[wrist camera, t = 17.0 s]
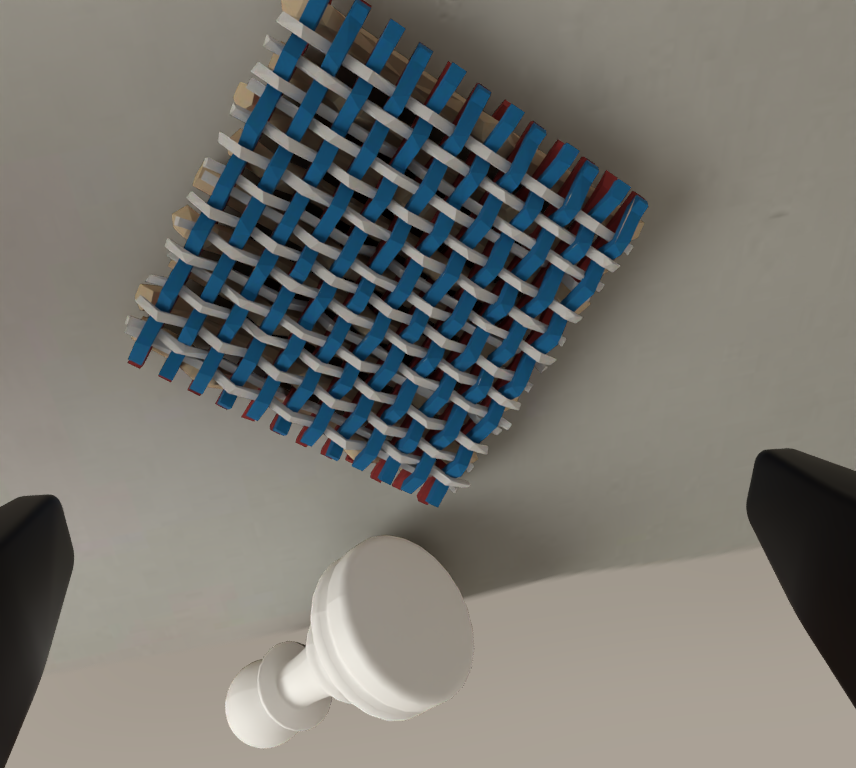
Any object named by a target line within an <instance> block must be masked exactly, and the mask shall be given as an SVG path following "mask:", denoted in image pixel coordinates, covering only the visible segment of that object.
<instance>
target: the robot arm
mask: <svg viewBox="0 0 856 768" xmlns="http://www.w3.org/2000/svg"><path fill="white" fill-rule="evenodd" d="M746 509H747V515H748V519H749V521H750V524H751V526H752V528H753V530H754V532H755V534H756V536H757V538H758V540H759V542H760V544H761V546H762V548H763V550H764V552H765V554H766V556H767V558H768V560H769V562H770V564H771V566H772V568H773V570H774V572H775V574H776V576H777V578H778V580H779V582H780V584H781V586H782V588H783V590H784V592H785V594H786V596H787V598H788V600H789V602H790V604H791V605H792V607H793V609H794V611H795V613H796V615H797V616H798V618H799V620H800V622H801V623H802V625H803V627H804V628H805V630H806V631H807V633H808V635H809V636H810V638H811V639H812V641H813V643H814V644H815V646H816V647H817V649H818V650H819V652H820V654H821V655H822V657H823V658H824V660H825V661H826V663H827V664H828V666H829V668H830V669H831V671H832V672H833V674H834V675H835V677H836V679H837V680H838V682H839V683H840V685H841V686H842V688H843V690H844V691H845V693H846V694H847V696H848V697H849V699H850V701H851V702H852V704H853V705H854V707H855V708H856V471H854V470H851V469H848V468H845V467H843V466H840V465H837V464H834V463H831V462H829V461H826V460H823V459H820V458H818V457H815V456H812V455H809V454H806V453H804V452H801V451H798V450H795V449H789V448H785V449H770V450H763V451H762V452H760V453H759V454H758V456H757V457H756V460H755V463H754V468H753V473H752V478H751V483H750V488H749V492H748V497H747V504H746ZM73 565H74V550H73V546H72V542H71V538H70V534H69V531H68V527H67V523H66V519H65V516H64V512H63V508H62V505H61V503H60V501H59V499H58V498H57V497H55V496H54V495H32V496H22V497H18V498H16V499H14V500H12V501H10V502H8V503H7V504H5V505H3V506H1V507H0V768H4V767H5V765H6V763H7V760H8V758H9V755H10V753H11V751H12V748H13V746H14V743H15V741H16V739H17V736H18V734H19V731H20V729H21V727H22V724H23V722H24V719H25V717H26V715H27V712H28V710H29V707H30V705H31V702H32V700H33V697H34V695H35V693H36V690H37V687H38V685H39V682H40V680H41V677H42V674H43V671H44V667H45V664H46V661H47V658H48V654H49V651H50V647H51V644H52V640H53V637H54V633H55V630H56V626H57V623H58V619H59V616H60V612H61V609H62V605H63V602H64V598H65V595H66V591H67V588H68V584H69V581H70V577H71V574H72V570H73Z"/></svg>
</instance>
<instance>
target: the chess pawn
mask: <svg viewBox="0 0 856 768" xmlns="http://www.w3.org/2000/svg"><path fill="white" fill-rule="evenodd" d="M473 653H474V640H473V628H472V624H471V620H470V617H469V612H468V609H467V606H466V604H465V602H464V600H463V597H462V595H461V593H460V590H459V589H458V587H457V585H456V584H455V582H454V581H453V579H452V578H451V576H450V575H449V573H448V572H447V571H446V569H445V568H444V567H443V566H442V565H441V564H440V563H439V562H438V561H437V559H436V558H435V557H433V556H432V555H431V554H430V553H428V552H427V551H426V550H424V549H423V548H422V547H421V546H419V545H417V544H415V543H413V542H411V541H409V540H406V539H404V538H400V537H395V536H389V535H384V536H377V537H370V538H369V539H367V540H365V541H363V542H362V543H360V544H358V545H356V546H355V547H354V548H352V549H351V550H349V551H348V552H347V553H346V554H345V555H344V556H343V557H342V558H340V559H338V560H336V561H335V562H333V563H331V565H330V566H329V567H328V568H327V569H326V571H325V572H324V573H323V574H322V576H321V577H320V579H319V581H318V584H317V586H316V589H315V591H314V594H313V598H312V608H311V625H310V628H309V630H308V633H307V639H306V645H304V644H301V643H299V642H292V641H286V642H283V643H279V644H277V645H275V646H274V647H272V648H271V649H270V650H269V651H268V652H267V654H266V655H265V656H264V657H263V659H260V660H257V661H254V662H252V663H250V664H249V665H248V666H246V667H244V668H243V669H242V670H241V671H240V672H239V673H238V674H237V676H236V677H235V678H234V679H233V681H232V683H231V685H230V687H229V689H228V692H227V697H226V702H225V710H226V717H227V721H228V724H229V726H230V728H231V730H232V731H233V733H234V734H235V735H236V736H237V737H238V738H239V739H240V740H241V741H242V742H244V743H246V744H247V745H249V746H253V747H257V748H273V747H276V746H278V745H281V744H283V743H286V742H287V741H289V740H290V739H291V738H292V737H293V736H294V735H296V734H297V733H298V731H307V730H309V729H312V728H314V727H316V726H317V725H318V724H319V723H321V722H322V721H323V719H324V718H325V716H326V715H327V713H328V711H329V708H330V705H331V702H332V697H333V698H335V699H336V700H338V701H341V702H345V703H347V704H353V705H355V706H356V707H358V708H359V709H361V710H362V711H364V712H365V713H366V714H368V715H371V716H374V717H377V718H380V719H383V720H387V721H402V720H409V719H411V718H413V717H415V716H418V715H420V714H422V713H424V712H425V711H426V710H429V709H431V708H433V707H435V706H438V705H440V704H442V703H444V702H446V701H448V700H450V699H452V698H453V697H454V695H455V694H456V693H457V692H458V691H459V690H460V689H461V688H462V687H463V686H464V684H465V682H466V680H467V677H468V675H469V673H470V670H471V668H472V661H473Z"/></svg>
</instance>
